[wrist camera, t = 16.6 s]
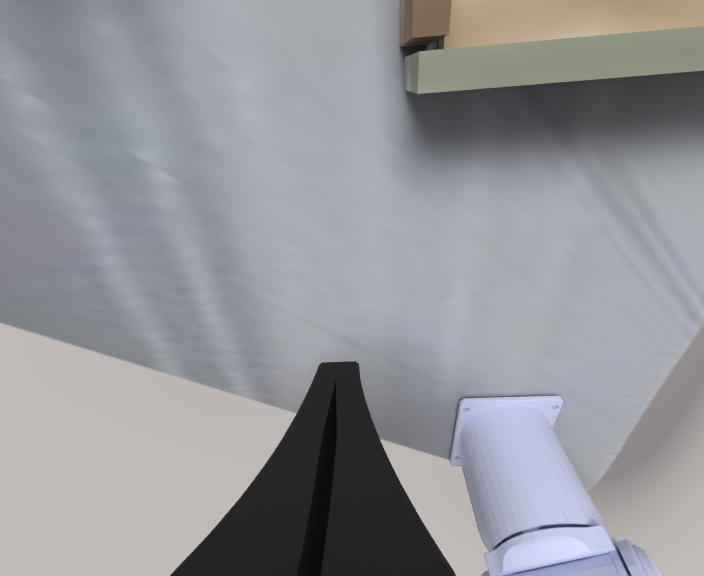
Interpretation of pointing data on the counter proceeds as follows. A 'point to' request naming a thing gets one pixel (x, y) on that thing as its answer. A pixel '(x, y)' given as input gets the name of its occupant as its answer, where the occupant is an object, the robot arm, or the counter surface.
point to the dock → (423, 21)
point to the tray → (559, 43)
